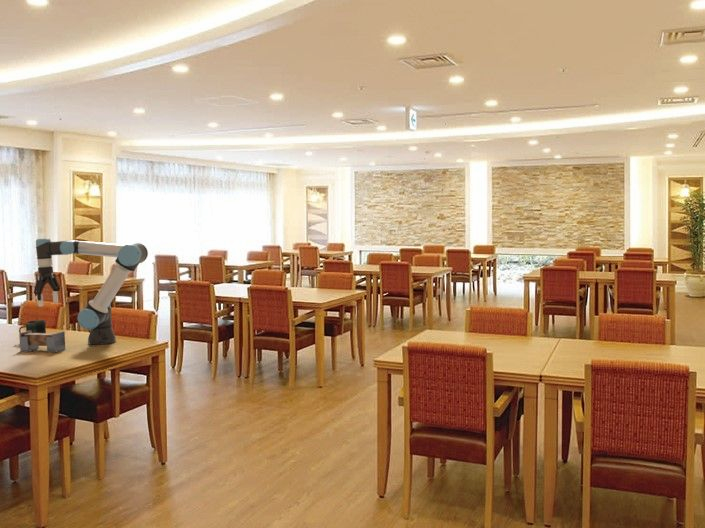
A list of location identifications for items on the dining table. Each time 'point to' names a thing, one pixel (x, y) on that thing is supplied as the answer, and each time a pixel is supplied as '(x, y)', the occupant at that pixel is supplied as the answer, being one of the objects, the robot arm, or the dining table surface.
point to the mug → (35, 326)
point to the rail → (38, 338)
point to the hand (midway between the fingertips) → (48, 304)
